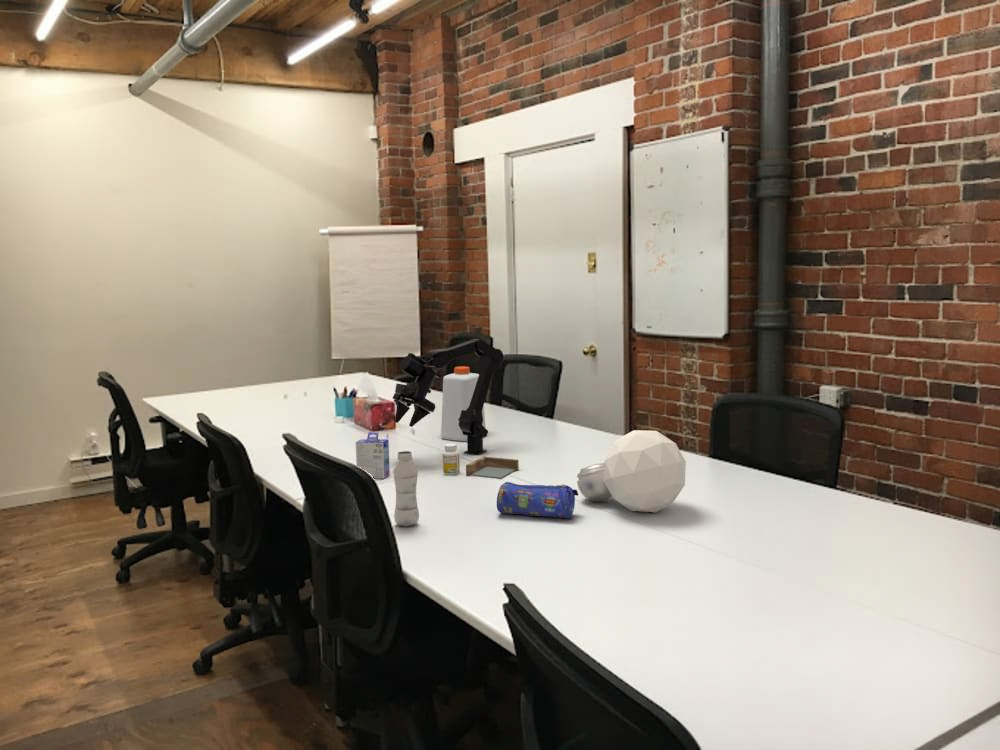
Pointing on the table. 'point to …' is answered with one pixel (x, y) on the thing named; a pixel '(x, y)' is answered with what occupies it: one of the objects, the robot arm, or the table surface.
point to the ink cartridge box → (373, 456)
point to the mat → (493, 472)
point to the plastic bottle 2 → (457, 401)
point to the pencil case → (536, 500)
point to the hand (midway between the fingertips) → (403, 424)
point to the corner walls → (491, 464)
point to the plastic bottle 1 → (405, 490)
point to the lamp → (637, 473)
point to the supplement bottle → (451, 460)
